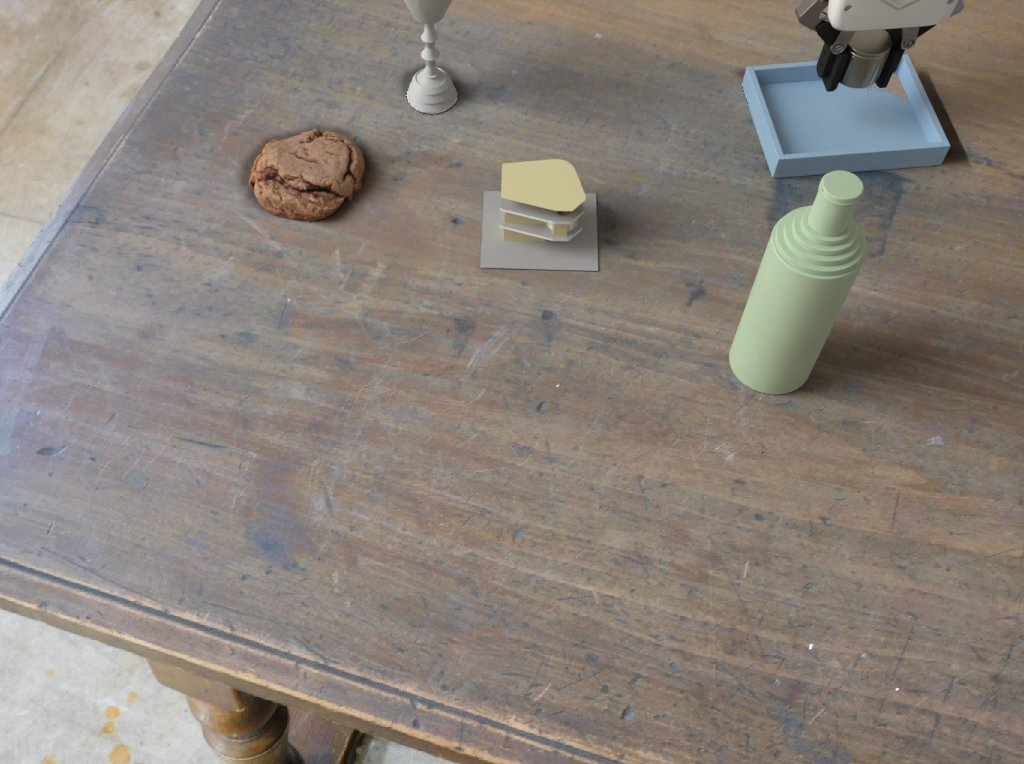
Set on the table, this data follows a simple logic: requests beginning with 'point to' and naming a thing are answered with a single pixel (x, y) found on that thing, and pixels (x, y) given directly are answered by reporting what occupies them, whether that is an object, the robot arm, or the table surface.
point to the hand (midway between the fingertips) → (852, 77)
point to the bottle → (800, 288)
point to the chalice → (430, 61)
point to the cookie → (307, 175)
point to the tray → (840, 122)
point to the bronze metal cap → (866, 58)
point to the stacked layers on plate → (539, 219)
